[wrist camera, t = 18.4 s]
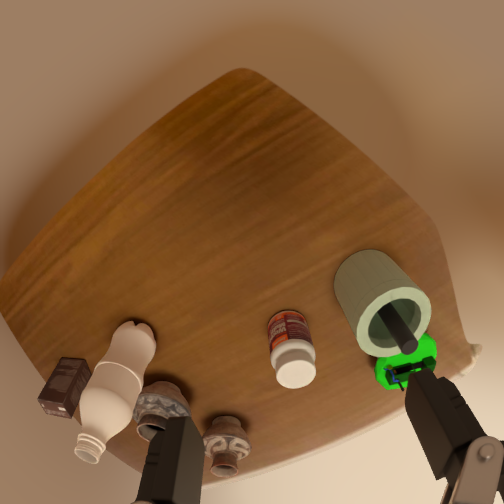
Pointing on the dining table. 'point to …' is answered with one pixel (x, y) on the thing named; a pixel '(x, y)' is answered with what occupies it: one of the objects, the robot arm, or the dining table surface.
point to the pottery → (174, 405)
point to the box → (65, 387)
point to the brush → (398, 329)
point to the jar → (379, 300)
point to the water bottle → (114, 389)
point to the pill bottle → (291, 349)
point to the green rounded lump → (405, 364)
